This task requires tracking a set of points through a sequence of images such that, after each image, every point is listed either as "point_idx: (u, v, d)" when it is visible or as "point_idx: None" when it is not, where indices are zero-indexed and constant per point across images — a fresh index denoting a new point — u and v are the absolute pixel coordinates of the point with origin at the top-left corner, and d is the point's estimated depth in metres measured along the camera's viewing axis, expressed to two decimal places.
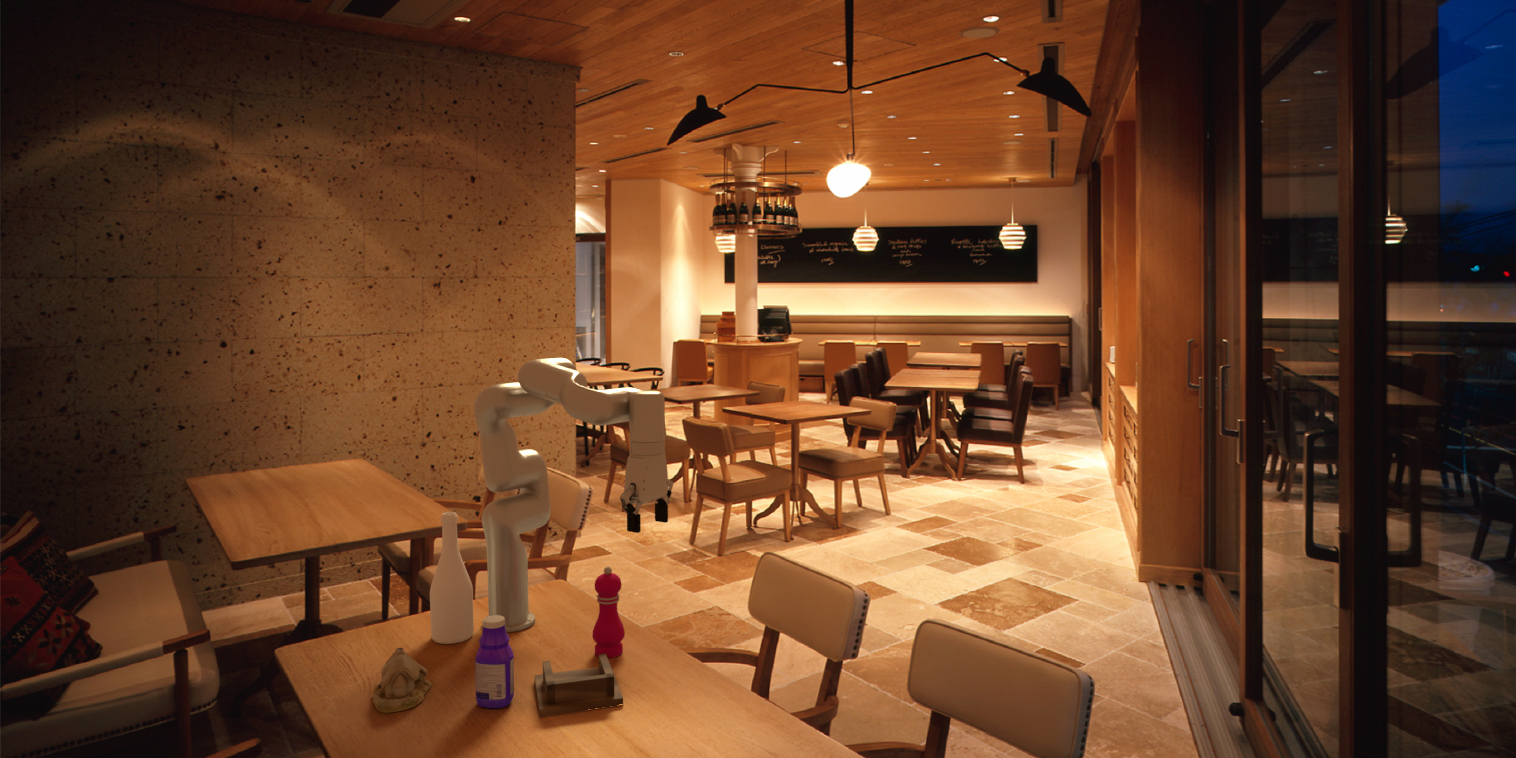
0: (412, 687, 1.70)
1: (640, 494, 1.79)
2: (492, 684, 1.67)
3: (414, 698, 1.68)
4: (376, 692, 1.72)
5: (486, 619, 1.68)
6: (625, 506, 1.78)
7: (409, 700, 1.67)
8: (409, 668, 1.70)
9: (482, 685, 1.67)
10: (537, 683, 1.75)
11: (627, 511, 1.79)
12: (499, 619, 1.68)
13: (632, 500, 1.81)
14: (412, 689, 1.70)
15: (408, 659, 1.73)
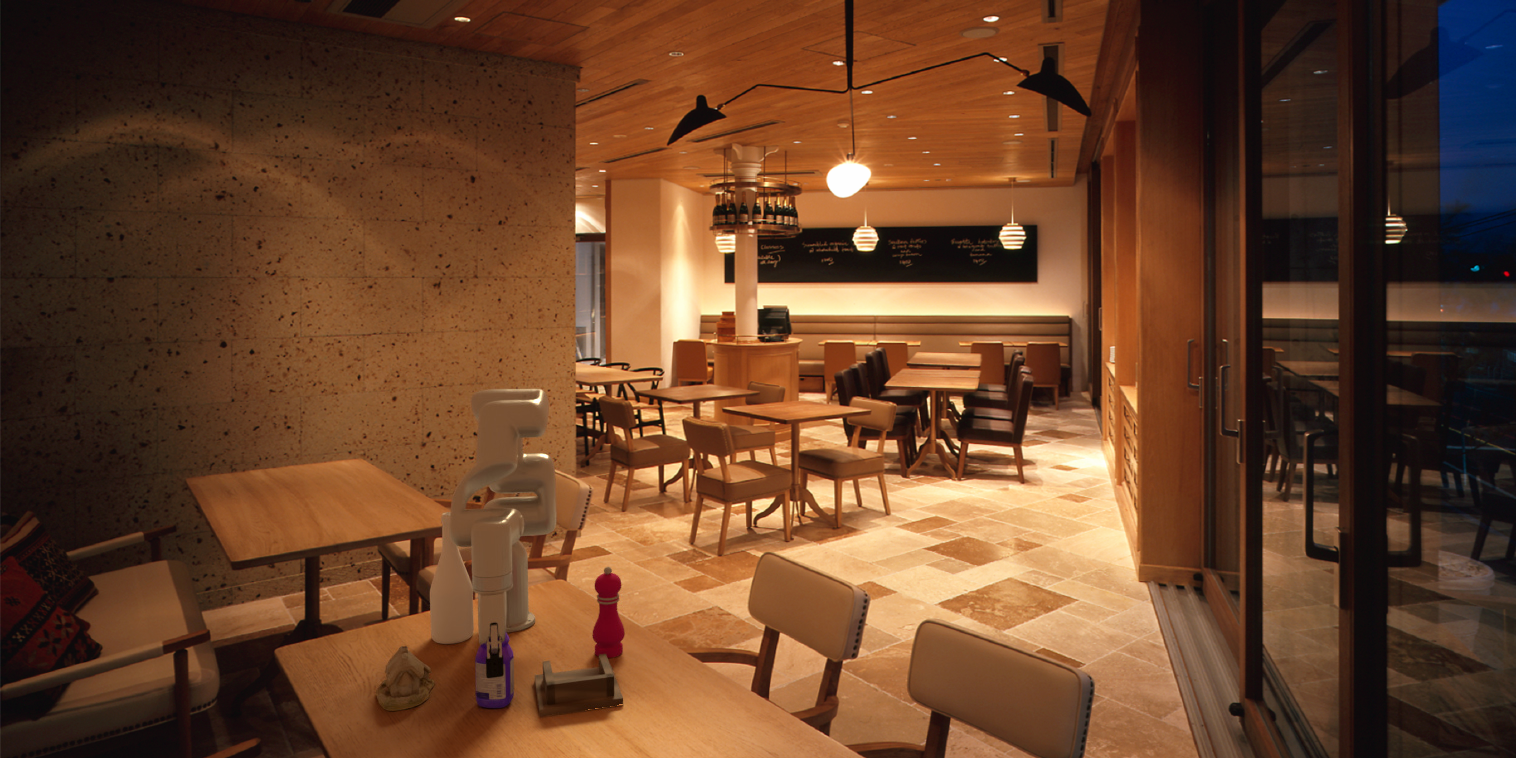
0: (417, 685, 1.71)
1: (504, 632, 1.64)
2: (492, 684, 1.67)
3: (420, 696, 1.69)
4: (380, 691, 1.72)
5: None
6: (495, 652, 1.63)
7: (416, 698, 1.68)
8: (415, 666, 1.70)
9: (482, 685, 1.67)
10: (537, 683, 1.75)
11: (492, 656, 1.64)
12: None
13: (491, 643, 1.65)
14: (417, 687, 1.71)
15: (412, 657, 1.73)
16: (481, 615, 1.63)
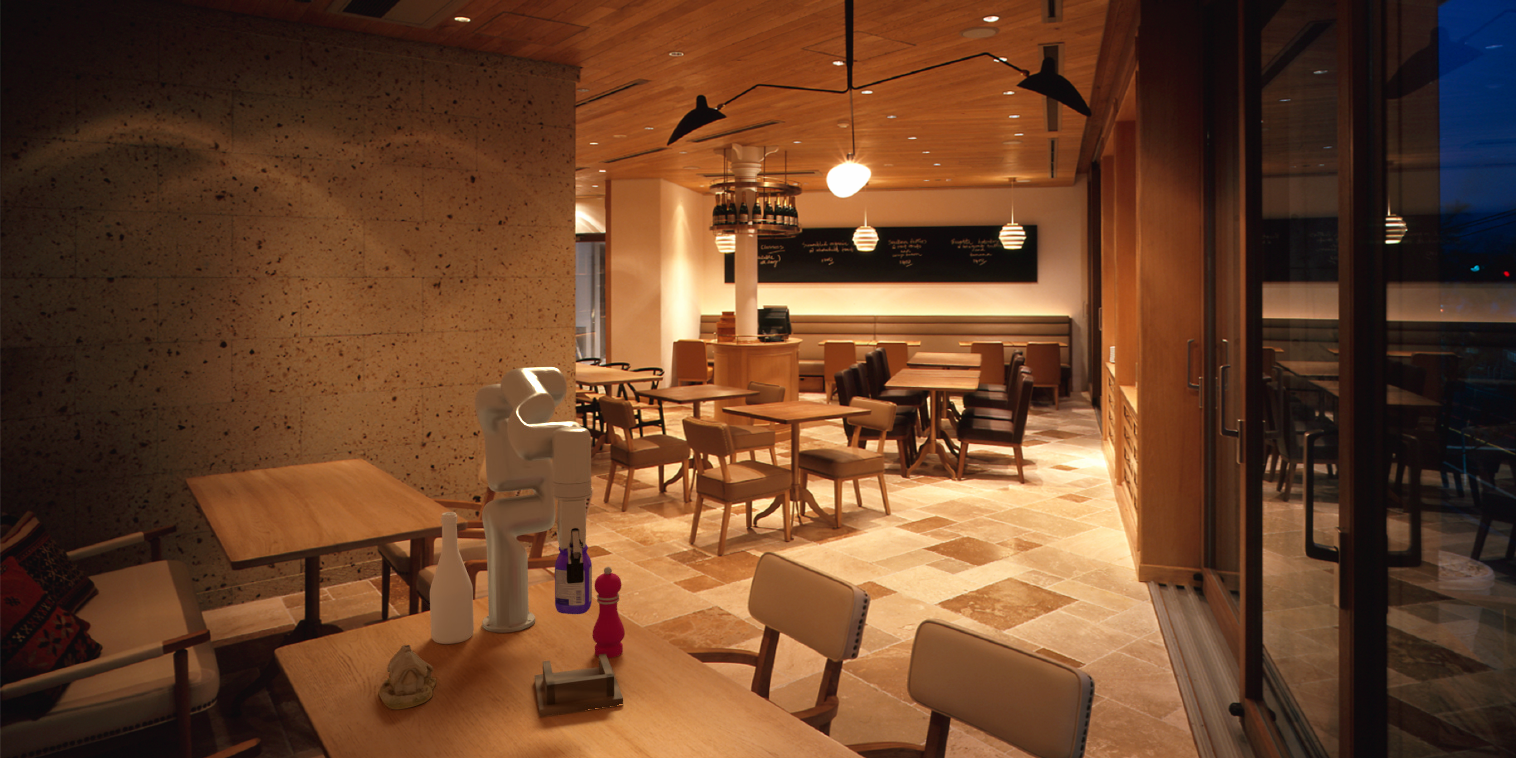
0: (422, 683, 1.72)
1: (584, 538, 1.67)
2: (572, 590, 1.70)
3: (425, 694, 1.70)
4: (383, 690, 1.73)
5: None
6: (576, 557, 1.66)
7: (421, 696, 1.69)
8: (419, 664, 1.71)
9: (561, 591, 1.70)
10: (537, 683, 1.75)
11: (573, 562, 1.67)
12: None
13: (572, 549, 1.68)
14: (421, 685, 1.72)
15: (415, 656, 1.74)
16: (563, 520, 1.66)
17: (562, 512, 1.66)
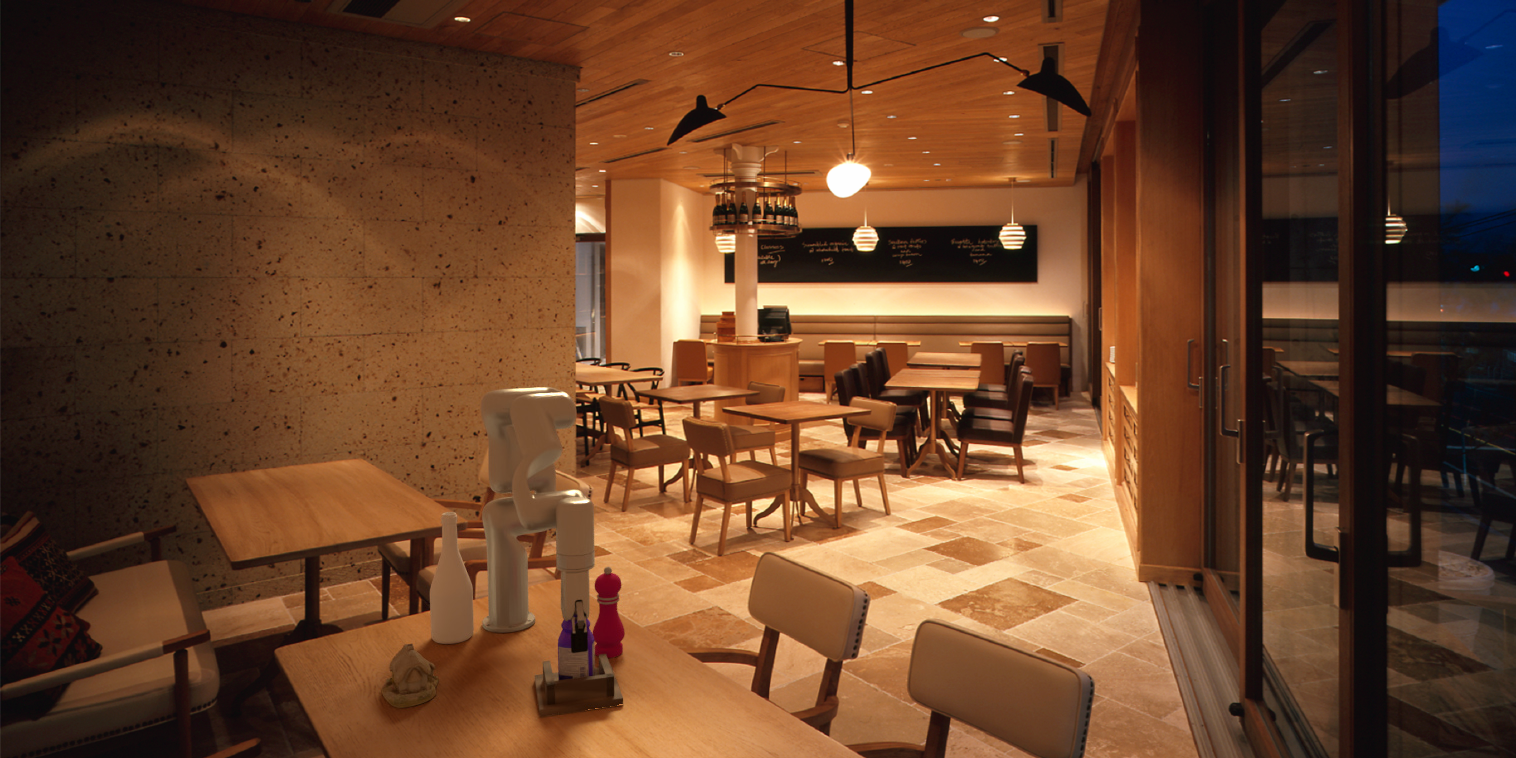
0: (425, 681, 1.72)
1: (588, 609, 1.69)
2: (576, 667, 1.71)
3: (429, 692, 1.71)
4: (386, 689, 1.73)
5: None
6: (581, 627, 1.66)
7: (426, 694, 1.70)
8: (423, 663, 1.72)
9: (565, 668, 1.71)
10: (537, 683, 1.75)
11: (578, 631, 1.67)
12: None
13: (576, 618, 1.68)
14: (425, 683, 1.73)
15: (418, 654, 1.75)
16: (567, 592, 1.67)
17: (566, 584, 1.67)
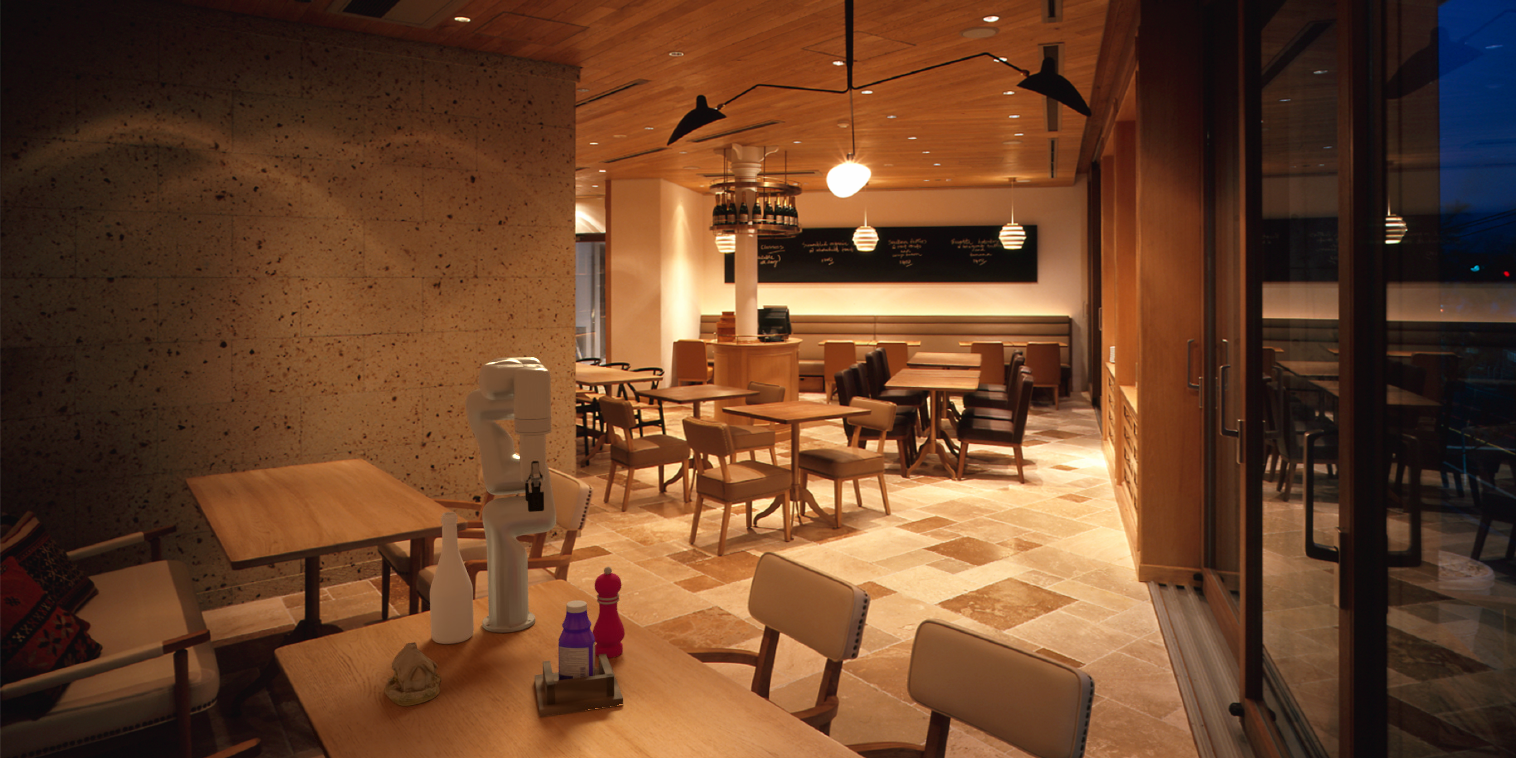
0: (429, 679, 1.73)
1: (544, 471, 1.77)
2: (576, 667, 1.71)
3: (434, 689, 1.72)
4: (389, 688, 1.74)
5: (569, 604, 1.72)
6: (536, 485, 1.74)
7: (430, 692, 1.71)
8: (427, 661, 1.73)
9: (565, 668, 1.71)
10: (537, 683, 1.75)
11: (534, 490, 1.75)
12: (582, 604, 1.72)
13: (532, 479, 1.77)
14: (429, 681, 1.73)
15: (421, 653, 1.76)
16: (523, 454, 1.76)
17: (523, 446, 1.76)
